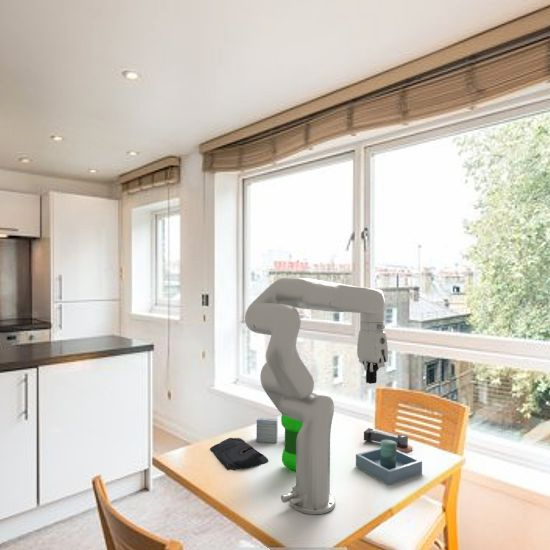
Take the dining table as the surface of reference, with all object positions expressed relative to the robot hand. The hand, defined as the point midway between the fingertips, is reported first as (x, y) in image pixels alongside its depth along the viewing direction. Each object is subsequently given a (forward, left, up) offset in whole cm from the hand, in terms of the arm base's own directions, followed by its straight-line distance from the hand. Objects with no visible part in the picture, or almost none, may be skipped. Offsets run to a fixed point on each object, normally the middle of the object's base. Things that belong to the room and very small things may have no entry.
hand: (371, 382), depth 139 cm
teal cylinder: (+6, -2, -28) cm, 29 cm away
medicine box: (-16, +40, -29) cm, 52 cm away
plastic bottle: (-20, +14, -29) cm, 38 cm away
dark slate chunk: (-32, +33, -30) cm, 55 cm away
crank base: (+24, +8, -29) cm, 39 cm away
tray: (+6, -2, -29) cm, 30 cm away
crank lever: (+21, +14, -28) cm, 38 cm away
